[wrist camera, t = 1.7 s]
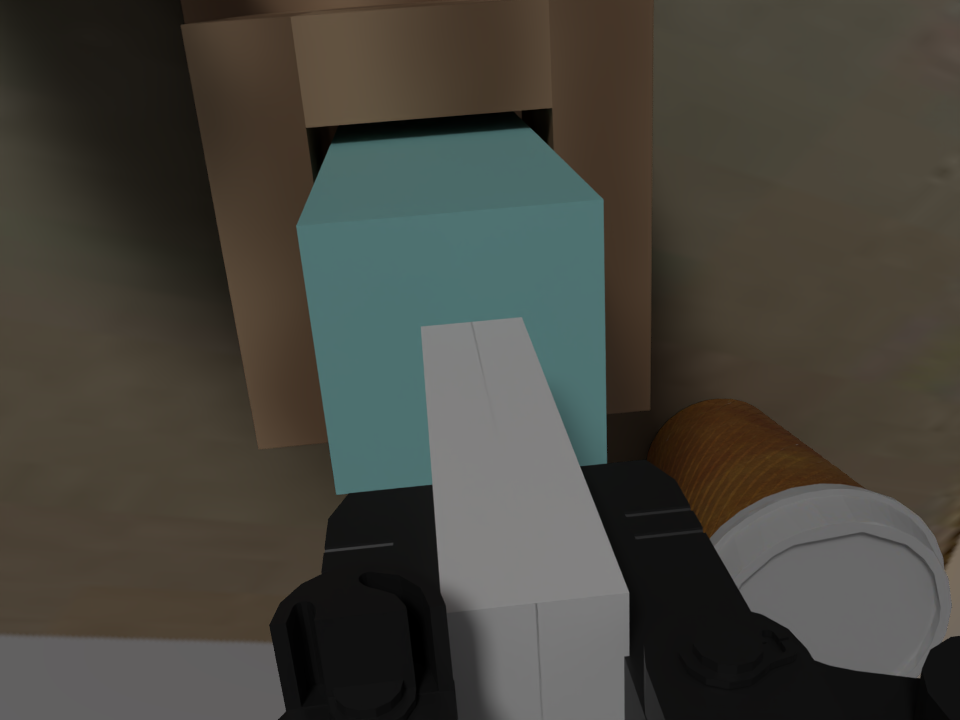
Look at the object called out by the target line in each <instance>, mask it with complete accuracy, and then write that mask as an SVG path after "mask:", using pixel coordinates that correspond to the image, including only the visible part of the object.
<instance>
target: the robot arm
mask: <svg viewBox="0 0 960 720" xmlns="http://www.w3.org/2000/svg"><path fill="white" fill-rule="evenodd" d="M421 337H422V351H423V364H424V378H425V391H426V404H427V418H428V431H429V445H430V458H431V471H432V485H423V486H413V487H404V488H394V489H384V490H375V491H365V492H355V493H349V494H348V495H347V496H346V498H345V499H344V500H343V501H342V503H341V504H340V505H339V506H338V508H337V509H336V510H335V511H334V513H333V514H332V515H331V516H330V518H329V519H328V525H327V533H326V541H325V553H324V556H323V564H322V574H321V575H319V576H317V577H315V578H313V579H311V580H309V581H307V582H305V583H303V584H301V585H300V586H299V587H298V588H296V589H295V590H294V591H293V592H292V593H291V594H290V595H289V596H287V597H286V598H285V599H284V600H283V601H282V602H281V603H280V604H279V606H278V608H277V610H276V613H275V615H274V617H273V619H272V621H271V623H270V625H269V626H270V631H271V636H272V641H273V646H274V651H275V656H276V662H277V666H278V672H279V677H280V682H281V687H282V692H283V697H284V702H285V707H286V712H285V713H284V714H283V715H282V716H281V717H280V718H279V719H278V720H960V636H955V637H950V638H949V639H947V640H945V641H944V642H942V643H940V644H939V645H937V646H935V647H934V648H932V649H930V651H929V653H928V656H927V658H926V660H925V663H924V665H923V667H922V671H921V678H911V677H903V676H895V675H887V674H879V673H871V672H863V671H855V670H850V669H845V668H840V667H835V666H830V665H827V664H824V663H821V662H818V661H816V660H814V659H813V658H812V656H811V654H810V653H809V651H808V650H807V648H806V647H805V646H804V645H803V644H802V643H801V642H800V641H799V640H798V639H797V638H796V637H795V635H794V634H793V633H792V632H791V631H790V630H789V629H788V628H786V627H784V626H782V625H780V624H779V623H777V622H775V621H773V620H771V619H770V618H768V617H766V616H764V615H762V614H759V613H755V612H751V610H750V608H749V607H748V605H747V603H746V601H745V600H744V598H743V596H742V595H741V593H740V591H739V589H738V588H737V586H736V584H735V582H734V581H733V579H732V577H731V575H730V574H729V572H728V570H727V568H726V567H725V565H724V563H723V562H722V560H721V558H720V556H719V555H718V553H717V551H716V549H715V548H714V546H713V544H712V542H711V541H710V539H709V537H708V535H707V534H706V533H703V527H702V525H701V523H700V522H699V520H698V518H697V516H696V515H695V513H694V511H691V509H690V504H689V502H688V501H687V499H686V497H685V496H684V494H683V492H682V490H681V489H680V487H679V485H678V483H677V482H676V480H675V479H674V478H672V477H671V476H669V475H668V474H666V473H665V472H663V471H662V470H660V469H659V468H657V467H656V466H654V465H653V464H651V463H650V462H649V461H647V460H636V461H626V462H617V463H607V464H597V465H587V466H580V465H579V463H578V460H577V457H576V455H575V452H574V450H573V447H572V445H571V442H570V440H569V437H568V434H567V432H566V429H565V427H564V424H563V422H562V419H561V416H560V414H559V411H558V409H557V406H556V404H555V401H554V398H553V396H552V393H551V391H550V388H549V386H548V383H547V381H546V378H545V375H544V373H543V370H542V368H541V365H540V363H539V360H538V357H537V355H536V352H535V350H534V347H533V345H532V342H531V339H530V337H529V334H528V332H527V329H526V327H525V324H524V322H523V319H522V317H518V318H507V319H497V320H486V321H475V322H465V323H454V324H443V325H432V326H422V327H421Z"/></svg>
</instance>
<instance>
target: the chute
mask: <svg viewBox="0 0 960 720" xmlns="http://www.w3.org/2000/svg"><path fill="white" fill-rule="evenodd" d="M180 1H181V6H182V12H183V17H184V23H185V24H183V25H180V26H181V31H182V36H183V42H184V47H185V53H186V58H187V63H188V69H189V74H190V80H191V85H192V91H193V96H194V101H195V107H196V112H197V118H198V123H199V129H200V134H201V139H202V145H203V150H204V156H205V161H206V166H207V172H208V177H209V183H210V188H211V194H212V199H213V204H214V210H215V215H216V221H217V226H218V232H219V237H220V242H221V248H222V253H223V259H224V264H225V269H226V275H227V280H228V286H229V291H230V297H231V302H232V307H233V313H234V318H235V324H236V329H237V335H238V340H239V345H240V351H241V356H242V362H243V367H244V373H245V378H246V383H247V389H248V394H249V400H250V405H251V410H252V416H253V421H254V427H255V432H256V438H257V443H258V448H259V449H269V448H279V447H289V446H299V445H309V444H319V443H329V442H328V435H327V429H326V422H325V415H324V409H323V402H322V395H321V389H320V382H319V375H318V369H317V362H316V355H315V349H314V342H313V335H312V328H311V322H310V315H309V308H308V302H307V295H306V288H305V282H304V275H303V268H302V262H301V255H300V248H299V242H298V235H297V228H296V225H297V223H298V221H299V218H300V216H301V213H302V211H303V209H304V206H305V204H306V202H307V199H308V197H309V195H310V192H311V190H312V187H313V185H314V183H315V180H316V178H317V176H318V173H319V171H320V168H321V166H322V164H323V161H324V159H325V157H326V154H327V152H328V150H329V147H330V145H331V142H332V140H333V138H334V135H335V133H336V131H337V128H338V126H339V125H347V124H359V123H372V122H384V121H397V120H409V119H421V118H434V117H446V116H459V115H471V114H483V113H496V112H508V111H514V112H515V113H516V114H517V115H518V116H519V117H520V118H521V119H522V120H523V121H524V122H525V123H526V124H527V125H528V126H529V127H530V128H531V129H532V130H533V131H534V132H535V133H536V134H537V135H538V136H539V137H540V138H541V139H542V140H543V141H544V142H545V143H546V144H547V145H548V146H549V147H550V148H551V149H553V150H554V151H555V152H556V153H557V154H558V155H559V156H560V157H561V158H562V159H563V160H564V161H565V162H566V163H567V164H568V165H569V166H570V167H571V168H572V169H573V170H574V171H575V172H576V173H577V174H578V175H579V176H580V177H581V178H582V179H583V180H584V181H585V182H586V183H587V184H588V185H589V186H590V187H591V188H592V189H593V190H594V191H595V192H596V193H597V194H598V195H599V196H601V197H602V198H603V201H604V276H605V350H606V415H607V414H617V413H626V412H636V411H646V410H650V396H651V268H652V140H653V12H654V0H180Z"/></svg>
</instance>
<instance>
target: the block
mask: <svg viewBox="0 0 960 720" xmlns="http://www.w3.org/2000/svg"><path fill="white" fill-rule="evenodd" d="M296 228H297V235H298V242H299V248H300V255H301V262H302V268H303V275H304V282H305V288H306V295H307V302H308V308H309V315H310V322H311V328H312V335H313V342H314V349H315V355H316V362H317V369H318V375H319V382H320V389H321V395H322V402H323V409H324V415H325V422H326V429H327V435H328V442H329V449H330V455H331V462H332V469H333V476H334V482H335V489H336V495H339V494H349V493H355V492H365V491H375V490H384V489H394V488H404V487H413V486H423V485H432V471H431V458H430V445H429V431H428V418H427V404H426V391H425V378H424V364H423V351H422V337H421V327H422V326H432V325H443V324H454V323H465V322H475V321H486V320H497V319H507V318H518V317H522V319H523V322H524V324H525V327H526V329H527V332H528V334H529V337H530V339H531V342H532V345H533V347H534V350H535V352H536V355H537V357H538V360H539V363H540V365H541V368H542V370H543V373H544V375H545V378H546V381H547V383H548V386H549V388H550V391H551V393H552V396H553V398H554V401H555V404H556V406H557V409H558V411H559V414H560V416H561V419H562V422H563V424H564V427H565V429H566V432H567V434H568V437H569V440H570V442H571V445H572V447H573V450H574V452H575V455H576V457H577V460H578V463H579V465H580V466H587V465H597V464H607V425H606V350H605V276H604V201H603V198H602V197H601V196H599V195H598V194H597V193H596V192H595V191H594V190H593V189H592V188H591V187H590V186H589V185H588V184H587V183H586V182H585V181H584V180H583V179H582V178H581V177H580V176H579V175H578V174H577V173H576V172H575V171H574V170H573V169H572V168H571V167H570V166H569V165H568V164H567V163H566V162H565V161H564V160H563V159H562V158H561V157H560V156H559V155H558V154H557V153H556V152H555V151H554V150H553V149H551V148H550V147H549V146H548V145H547V144H546V143H545V142H544V141H543V140H542V139H541V138H540V137H539V136H538V135H537V134H536V133H535V132H534V131H533V130H532V129H531V128H530V127H529V126H528V125H527V124H526V123H525V122H524V121H523V120H522V119H521V118H520V117H519V116H518V115H517V114H516V113H515V112H514V111H508V112H496V113H483V114H471V115H459V116H446V117H434V118H421V119H409V120H397V121H384V122H372V123H359V124H347V125H339V126H338V128H337V131H336V133H335V135H334V138H333V140H332V142H331V145H330V147H329V150H328V152H327V154H326V157H325V159H324V161H323V164H322V166H321V168H320V171H319V173H318V176H317V178H316V180H315V183H314V185H313V187H312V190H311V192H310V195H309V197H308V199H307V202H306V204H305V206H304V209H303V211H302V213H301V216H300V218H299V221H298V223H297V225H296Z"/></svg>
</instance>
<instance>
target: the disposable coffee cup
mask: <svg viewBox="0 0 960 720" xmlns="http://www.w3.org/2000/svg"><path fill="white" fill-rule="evenodd" d="M647 461H649V462H650V463H651V464H653V465H654V466H656V467H657V468H659V469H660V470H662V471H663V472H665V473H666V474H668V475H669V476H671V477H672V478H674V479H675V480H676V482H677V483H678V485H679V487H680V489H681V490H682V492H683V494H684V496H685V497H686V499H687V501H688V502H689V504H690V509H691V511H694V513H695V515H696V516H697V518H698V520H699V522H700V523H701V525H702V527H703V533H706V534H707V535H708V537H709V539H710V541H711V542H712V544H713V546H714V548H715V549H716V551H717V553H718V555H719V556H720V558H721V560H722V562H723V563H724V565H725V567H726V568H727V570H728V572H729V574H730V575H731V577H732V579H733V581H734V582H735V584H736V586H737V588H738V589H739V591H740V593H741V595H742V596H743V598H744V600H745V601H746V603H747V605H748V607H749V608H750V610H751V612H755V613H759V614H762V615H764V616H766V617H768V618H770V619H771V620H773V621H775V622H777V623H779V624H780V625H782V626H784V627H786V628H788V629H789V630H790V631H791V632H792V633H793V634H794V635H795V637H796V638H797V639H798V640H799V641H800V642H801V643H802V644H803V645H804V646H805V647H806V648H807V650H808V651H809V653H810V654H811V656H812V658H813V659H814V660H816V661H818V662H821V663H824V664H827V665H830V666H835V667H840V668H845V669H850V670H855V671H863V672H871V673H879V674H887V675H895V676H903V677H911V678H917V677H918V676H919V675H920V673H921V671H922V667H923V665H924V663H925V660H926V658H927V656H928V653H929V651H930V649H932V648H934V647H935V646H937V645H939V644H940V643H941V642H942V640H943V638H944V636H945V634H946V631H947V626H948V622H949V617H950V612H951V608H952V603H951V595H950V588H949V580H948V576H947V574H946V572H945V571H944V563H943V557H942V554H941V551H940V549H939V546H938V544H937V541H936V538H935V536H934V535H933V533H932V532H931V531H930V529H929V528H928V527H927V525H926V524H925V523H924V521H923V520H922V519H921V518H920V517H919V516H918V515H916V514H915V513H914V512H912V511H911V510H909V509H908V508H907V507H905V506H904V505H902V504H901V503H900V502H898V501H897V500H895V499H894V498H891V497H888V496H885V495H882V494H879V493H876V492H873V491H869V490H866V489H865V488H864V487H862V486H861V485H859V484H858V483H857V482H855V481H854V480H853V479H851V478H850V477H849V476H848V475H847V474H845V473H843V472H842V471H841V470H840V469H838V468H837V467H835V466H834V465H832V464H831V463H830V462H829V461H827V460H826V459H824V458H823V457H822V456H821V455H819V454H818V453H816V452H815V451H814V450H813V449H811V448H810V447H808V446H807V445H805V444H804V443H803V442H801V441H800V440H799V439H798V438H796V437H795V436H793V435H791V433H790V432H789V431H787V430H785V429H784V428H783V427H782V426H780V425H778V424H777V423H776V422H775V421H773V420H771V419H770V418H769V417H768V416H766V415H765V414H764V413H763V412H761V411H760V410H759V409H757V408H756V407H754V406H752V405H750V404H748V403H746V402H742V401H738V400H734V399H712V400H706V401H702V402H699V403H696V404H693V405H691V406H689V407H687V408H685V409H683V410H681V411H680V412H678V413H677V414H676V415H674V416H673V417H672V418H671V419H669V420H668V421H667V422H666V423H665V425H664V426H663V427H662V428H661V429H660V430H659V432H658V433H657V435H656V437H655V439H654V440H653V442H652V444H651V446H650V449H649V452H648V456H647Z"/></svg>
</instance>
